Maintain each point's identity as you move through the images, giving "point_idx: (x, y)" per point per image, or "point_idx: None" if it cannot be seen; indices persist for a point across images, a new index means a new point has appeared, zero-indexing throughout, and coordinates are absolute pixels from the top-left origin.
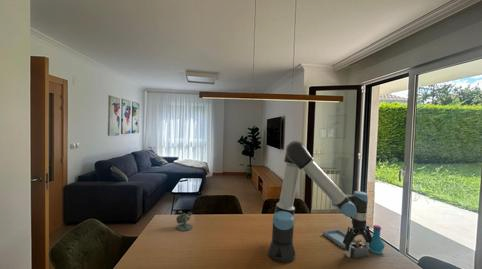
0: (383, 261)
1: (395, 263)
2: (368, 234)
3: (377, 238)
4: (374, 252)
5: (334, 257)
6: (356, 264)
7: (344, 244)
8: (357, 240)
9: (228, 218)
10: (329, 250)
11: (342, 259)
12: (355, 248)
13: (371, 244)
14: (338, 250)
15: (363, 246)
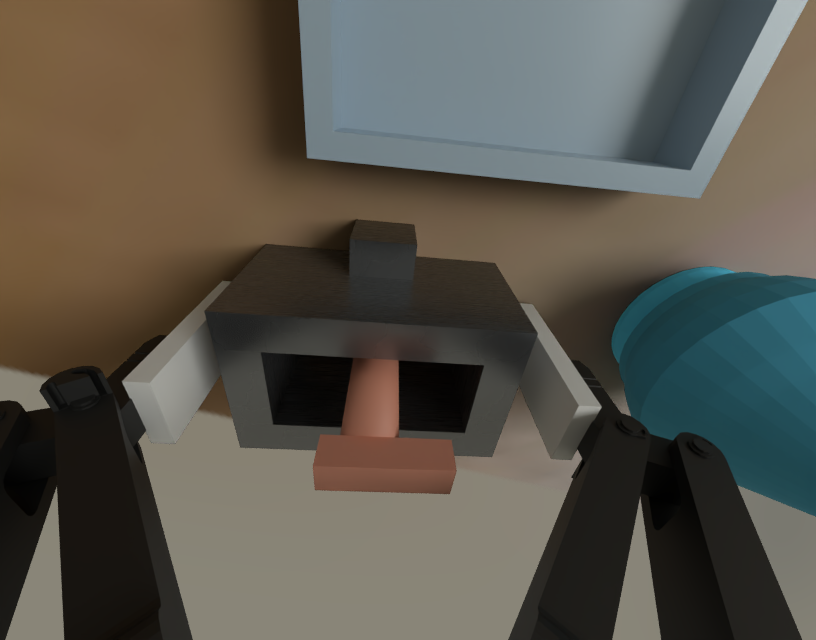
0: (508, 449)
1: (561, 481)
2: (667, 633)
3: (801, 509)
4: (614, 349)
5: (28, 268)
6: (230, 417)
7: (320, 133)
8: (347, 486)
9: None
10: (4, 71)
11: (125, 328)
12: (262, 440)
13: (646, 400)
14: (188, 140)
15: (434, 438)
